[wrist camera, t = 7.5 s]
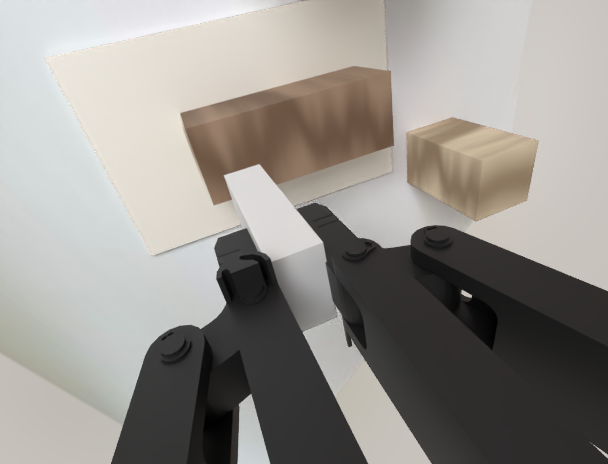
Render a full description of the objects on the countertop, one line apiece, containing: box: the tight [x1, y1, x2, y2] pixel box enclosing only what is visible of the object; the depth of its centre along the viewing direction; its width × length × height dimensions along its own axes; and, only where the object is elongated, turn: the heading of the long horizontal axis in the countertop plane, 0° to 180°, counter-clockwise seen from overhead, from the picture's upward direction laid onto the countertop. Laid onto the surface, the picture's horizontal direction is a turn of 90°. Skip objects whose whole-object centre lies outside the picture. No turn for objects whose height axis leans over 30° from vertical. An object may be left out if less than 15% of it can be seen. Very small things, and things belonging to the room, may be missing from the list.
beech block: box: [406, 117, 538, 221], centre depth 26 cm, size 4×4×8 cm
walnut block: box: [179, 66, 394, 206], centre depth 22 cm, size 4×4×12 cm
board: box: [44, 0, 392, 256], centre depth 23 cm, size 13×20×1 cm, turn 101°
